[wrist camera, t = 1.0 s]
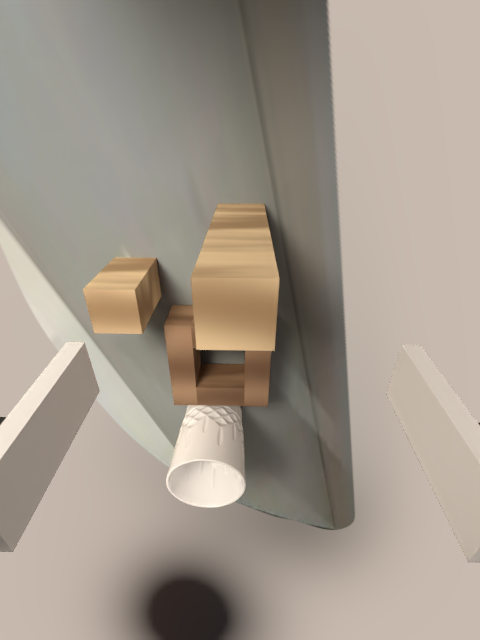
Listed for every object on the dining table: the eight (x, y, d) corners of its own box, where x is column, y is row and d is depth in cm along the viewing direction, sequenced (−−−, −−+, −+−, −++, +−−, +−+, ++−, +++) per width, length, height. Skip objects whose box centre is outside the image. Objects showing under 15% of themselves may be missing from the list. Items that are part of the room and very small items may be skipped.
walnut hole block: (172, 304, 34) (163, 325, 30) (270, 306, 34) (272, 326, 30) (180, 380, 39) (174, 404, 36) (265, 381, 39) (267, 406, 35)
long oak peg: (218, 203, 29) (190, 277, 15) (264, 203, 29) (279, 278, 15) (219, 248, 31) (196, 349, 17) (262, 248, 31) (274, 350, 17)
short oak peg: (114, 257, 32) (82, 289, 25) (156, 257, 31) (134, 289, 25) (122, 295, 34) (94, 333, 28) (161, 295, 33) (142, 333, 27)
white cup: (224, 376, 39) (217, 449, 30) (257, 418, 42) (260, 494, 34) (170, 401, 41) (149, 476, 32) (206, 439, 44) (196, 515, 36)
